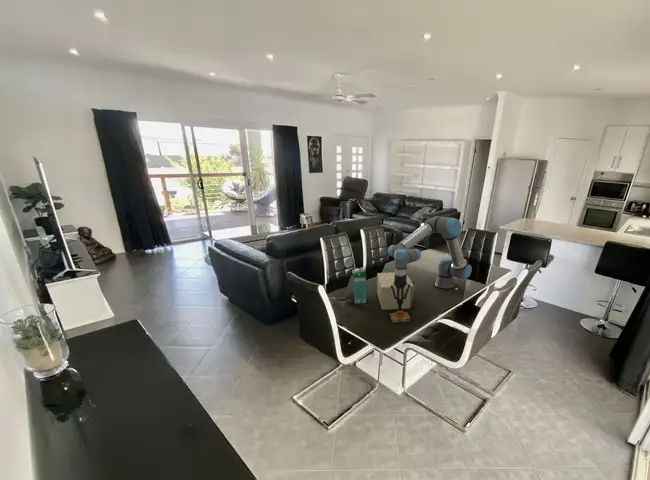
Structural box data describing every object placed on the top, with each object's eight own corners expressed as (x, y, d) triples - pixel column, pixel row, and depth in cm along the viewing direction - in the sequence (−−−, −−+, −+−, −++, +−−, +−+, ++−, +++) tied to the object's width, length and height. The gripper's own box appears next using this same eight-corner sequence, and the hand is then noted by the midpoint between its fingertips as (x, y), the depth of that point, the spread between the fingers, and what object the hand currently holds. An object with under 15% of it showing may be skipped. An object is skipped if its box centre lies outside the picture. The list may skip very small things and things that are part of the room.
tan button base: (407, 315, 214) (407, 309, 213) (410, 321, 206) (410, 316, 204) (389, 316, 213) (389, 310, 211) (391, 322, 205) (391, 317, 203)
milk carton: (353, 298, 240) (352, 266, 230) (365, 297, 240) (365, 266, 231) (354, 303, 231) (352, 271, 222) (366, 303, 232) (365, 270, 223)
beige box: (406, 292, 249) (406, 271, 243) (413, 308, 223) (414, 285, 217) (377, 293, 247) (377, 273, 241) (381, 310, 221) (381, 287, 215)
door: (412, 295, 243) (412, 275, 236) (418, 307, 224) (419, 285, 217) (405, 296, 242) (405, 275, 236) (410, 308, 223) (411, 286, 217)
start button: (402, 312, 210) (402, 309, 209) (403, 315, 206) (403, 312, 206) (396, 312, 210) (396, 310, 209) (397, 315, 206) (397, 313, 205)
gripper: (390, 277, 194) (390, 311, 202) (412, 276, 195) (411, 310, 204) (389, 272, 201) (388, 306, 209) (409, 271, 202) (408, 305, 211)
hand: (399, 308), depth 206 cm, fingers closed
